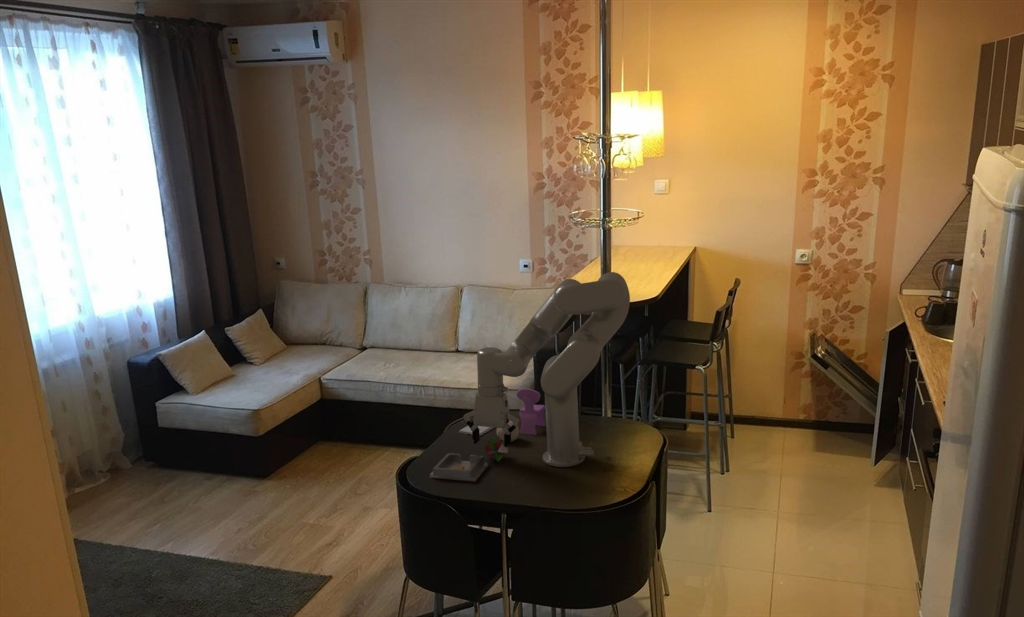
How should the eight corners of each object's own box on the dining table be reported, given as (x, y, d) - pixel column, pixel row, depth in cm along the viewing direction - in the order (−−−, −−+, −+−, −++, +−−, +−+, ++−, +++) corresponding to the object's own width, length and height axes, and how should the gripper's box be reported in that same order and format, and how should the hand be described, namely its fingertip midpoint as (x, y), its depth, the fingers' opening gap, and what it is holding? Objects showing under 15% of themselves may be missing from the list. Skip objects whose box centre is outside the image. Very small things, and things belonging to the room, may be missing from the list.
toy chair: (549, 425, 260) (547, 382, 257) (539, 435, 253) (536, 391, 250) (526, 423, 264) (524, 381, 261) (516, 432, 256) (513, 389, 253)
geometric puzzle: (475, 455, 234) (488, 436, 231) (485, 446, 240) (497, 428, 237) (494, 470, 233) (507, 452, 230) (503, 461, 239) (516, 443, 236)
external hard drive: (500, 425, 265) (479, 438, 255) (480, 422, 269) (459, 434, 259) (500, 421, 265) (478, 433, 254) (480, 417, 269) (458, 429, 259)
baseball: (498, 437, 253) (497, 417, 252) (521, 437, 252) (519, 417, 251) (495, 445, 247) (493, 425, 246) (518, 445, 246) (516, 425, 244)
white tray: (488, 465, 232) (487, 455, 231) (475, 481, 221) (474, 471, 220) (444, 462, 236) (443, 452, 235) (429, 478, 225) (428, 468, 225)
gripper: (522, 388, 232) (522, 442, 236) (467, 383, 237) (469, 436, 241) (514, 396, 225) (515, 451, 229) (458, 391, 230) (460, 445, 234)
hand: (491, 443), depth 235 cm, fingers open, 9 cm apart
